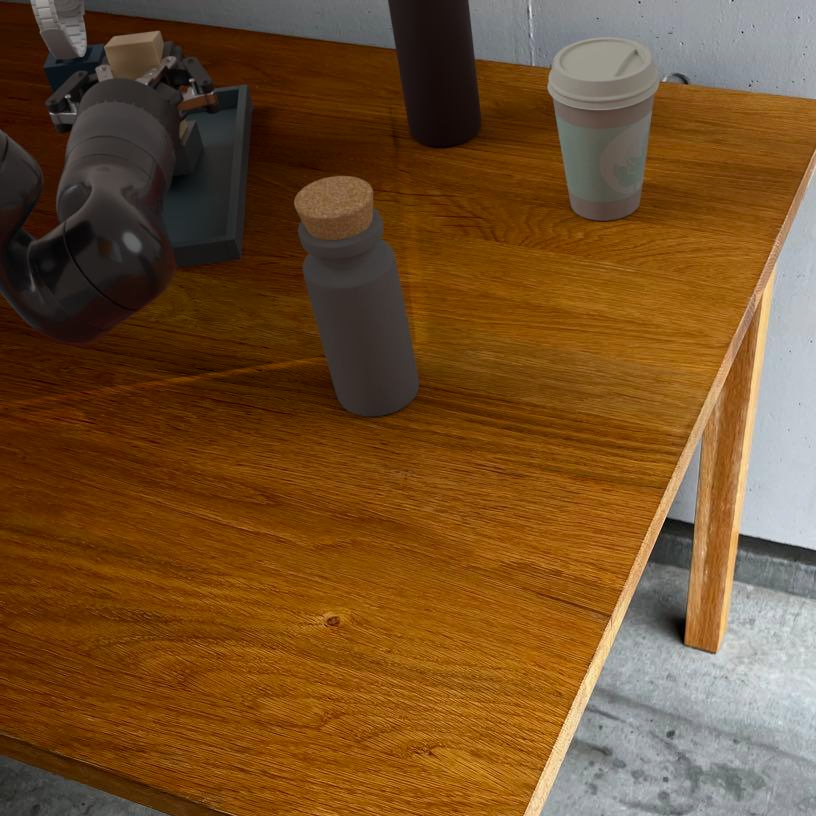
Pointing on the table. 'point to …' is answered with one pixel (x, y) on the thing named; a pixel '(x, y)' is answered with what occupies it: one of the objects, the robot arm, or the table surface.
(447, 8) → the vinegar
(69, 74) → the watch
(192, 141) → the stamp
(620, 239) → the table surface
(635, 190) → the coffee cup
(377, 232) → the bottle
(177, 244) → the tray
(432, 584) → the table surface
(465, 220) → the table surface
